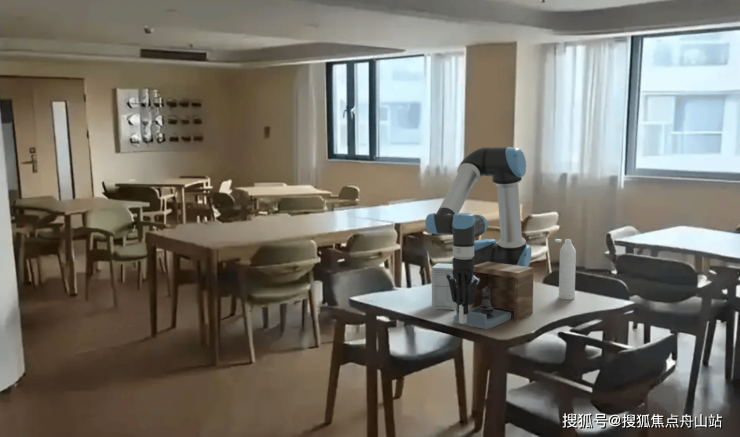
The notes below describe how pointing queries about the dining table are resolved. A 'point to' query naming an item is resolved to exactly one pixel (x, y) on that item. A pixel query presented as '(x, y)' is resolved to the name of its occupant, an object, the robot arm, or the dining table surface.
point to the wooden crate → (506, 287)
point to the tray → (484, 318)
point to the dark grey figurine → (486, 303)
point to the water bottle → (567, 270)
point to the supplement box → (442, 287)
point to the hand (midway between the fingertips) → (462, 322)
